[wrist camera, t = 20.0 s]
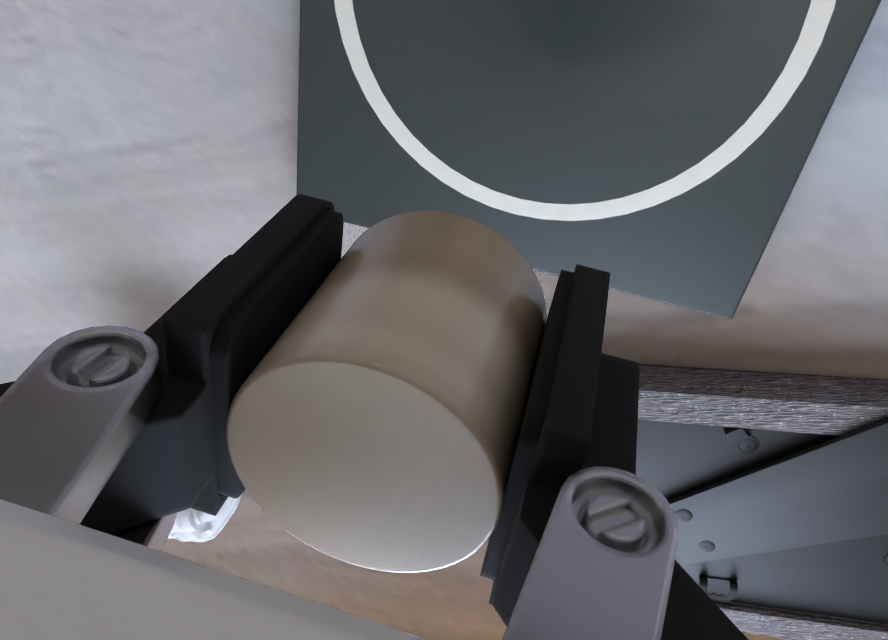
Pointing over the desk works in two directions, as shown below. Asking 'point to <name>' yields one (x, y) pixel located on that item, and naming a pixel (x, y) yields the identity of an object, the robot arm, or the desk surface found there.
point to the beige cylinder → (396, 397)
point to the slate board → (578, 125)
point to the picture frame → (775, 494)
